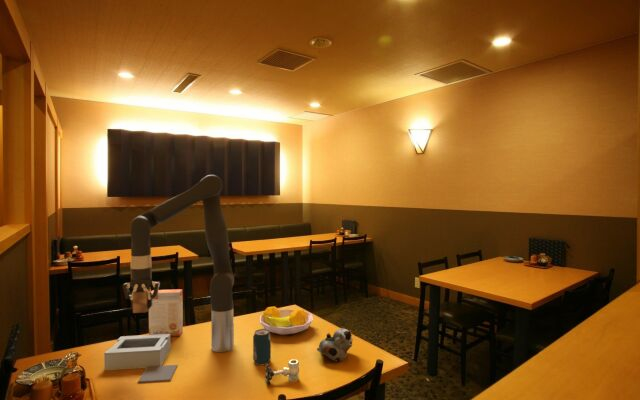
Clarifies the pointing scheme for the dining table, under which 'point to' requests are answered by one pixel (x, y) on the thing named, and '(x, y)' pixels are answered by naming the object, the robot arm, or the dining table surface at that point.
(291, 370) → the valve
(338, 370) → the dining table surface
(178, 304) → the cracker box
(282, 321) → the fruit bowl
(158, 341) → the box
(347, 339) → the grey metal pump housing
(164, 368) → the rubber pad
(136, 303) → the walnut block
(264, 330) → the soda can
